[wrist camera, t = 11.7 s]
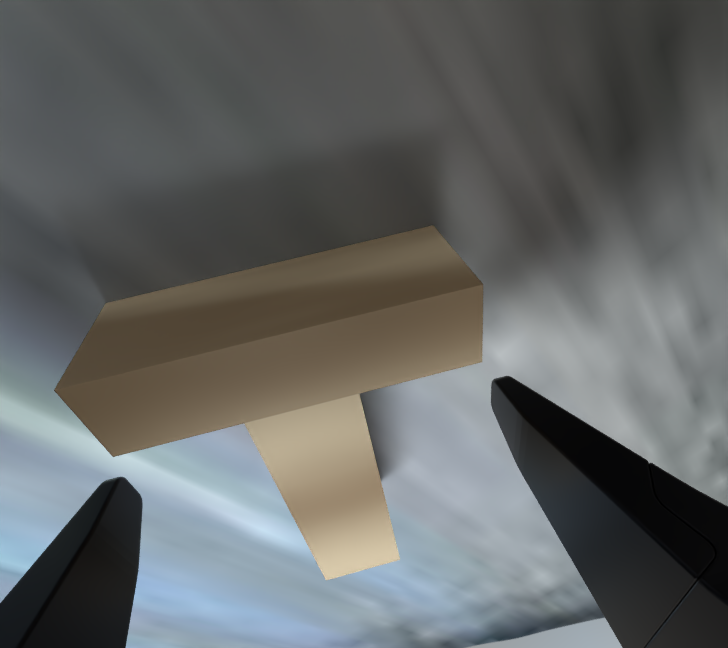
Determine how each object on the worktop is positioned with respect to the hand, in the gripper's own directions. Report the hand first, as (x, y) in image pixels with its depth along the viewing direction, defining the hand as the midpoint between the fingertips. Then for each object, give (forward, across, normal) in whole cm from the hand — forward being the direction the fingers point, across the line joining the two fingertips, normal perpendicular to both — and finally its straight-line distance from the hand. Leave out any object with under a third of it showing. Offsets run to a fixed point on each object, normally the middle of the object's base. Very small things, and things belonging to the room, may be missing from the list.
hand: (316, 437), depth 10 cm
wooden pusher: (+3, 0, +2) cm, 4 cm away
